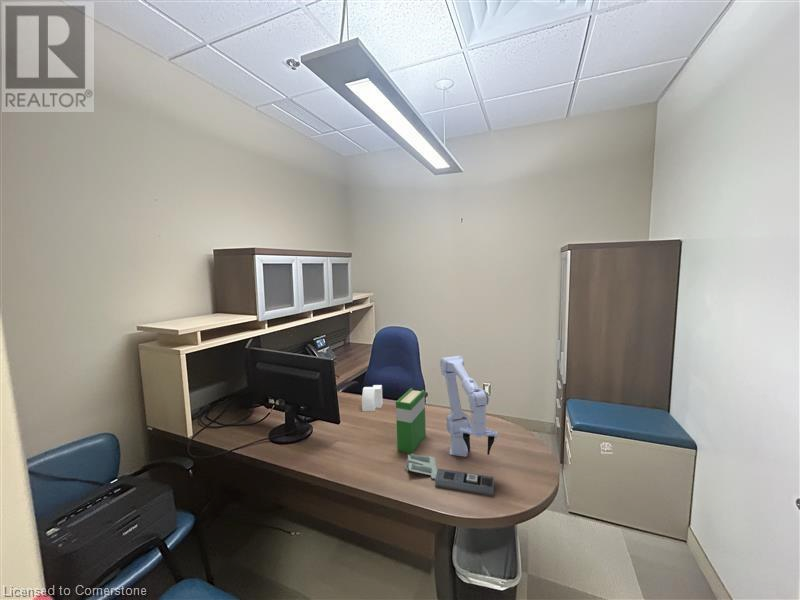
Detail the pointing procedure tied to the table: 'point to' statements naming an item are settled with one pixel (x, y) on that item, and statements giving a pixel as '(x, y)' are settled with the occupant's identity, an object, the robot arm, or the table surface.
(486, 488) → the rail
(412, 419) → the hardback book
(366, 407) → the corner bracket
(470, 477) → the cube with square inset
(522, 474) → the table surface
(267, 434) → the table surface
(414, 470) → the metal bracket
